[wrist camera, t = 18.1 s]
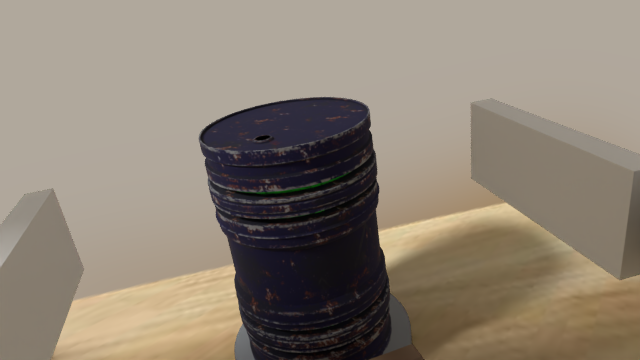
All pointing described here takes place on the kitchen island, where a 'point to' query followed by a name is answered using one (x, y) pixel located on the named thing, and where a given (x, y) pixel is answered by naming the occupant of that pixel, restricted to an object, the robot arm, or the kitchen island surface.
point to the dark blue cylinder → (302, 227)
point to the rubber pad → (398, 340)
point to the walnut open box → (401, 354)
